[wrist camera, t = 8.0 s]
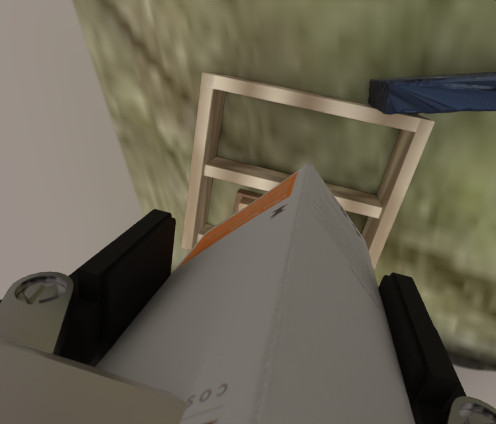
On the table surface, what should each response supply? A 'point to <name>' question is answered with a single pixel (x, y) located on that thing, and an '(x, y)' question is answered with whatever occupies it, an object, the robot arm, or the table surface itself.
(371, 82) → the vhs cassette tape
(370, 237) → the offcut rack
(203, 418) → the skincare box
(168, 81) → the table surface
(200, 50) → the table surface
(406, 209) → the table surface
